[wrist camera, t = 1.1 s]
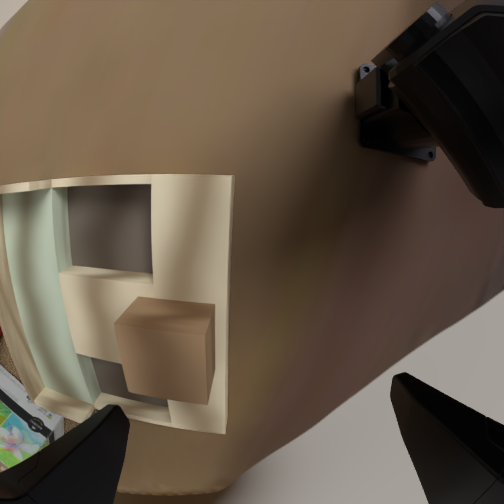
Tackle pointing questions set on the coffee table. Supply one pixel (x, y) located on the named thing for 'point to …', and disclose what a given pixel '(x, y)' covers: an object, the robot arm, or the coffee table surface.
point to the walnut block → (168, 348)
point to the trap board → (111, 284)
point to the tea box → (23, 423)
